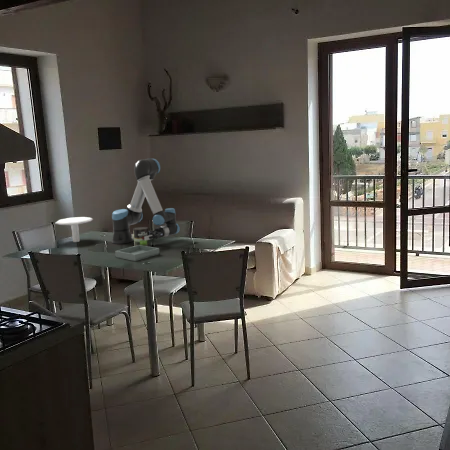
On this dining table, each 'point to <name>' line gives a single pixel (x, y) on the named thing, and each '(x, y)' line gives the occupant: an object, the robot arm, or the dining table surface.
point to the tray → (137, 252)
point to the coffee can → (140, 236)
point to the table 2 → (74, 225)
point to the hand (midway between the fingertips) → (138, 237)
